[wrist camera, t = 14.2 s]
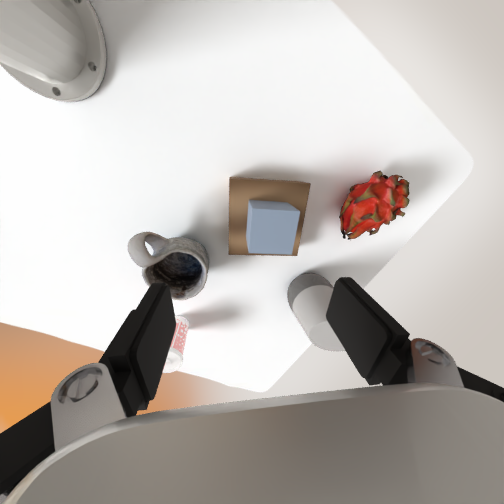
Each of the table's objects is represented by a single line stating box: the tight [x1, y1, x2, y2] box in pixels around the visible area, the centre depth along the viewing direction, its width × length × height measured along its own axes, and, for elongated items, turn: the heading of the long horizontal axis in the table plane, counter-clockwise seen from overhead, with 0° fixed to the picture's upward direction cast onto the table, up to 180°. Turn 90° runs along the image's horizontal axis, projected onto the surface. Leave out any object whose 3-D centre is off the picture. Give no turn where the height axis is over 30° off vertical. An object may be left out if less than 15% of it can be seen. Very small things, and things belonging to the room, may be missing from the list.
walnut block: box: [229, 177, 310, 256], centre depth 31 cm, size 12×12×4 cm
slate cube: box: [246, 200, 300, 255], centre depth 27 cm, size 6×6×6 cm
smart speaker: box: [287, 273, 345, 351], centre depth 34 cm, size 10×9×14 cm
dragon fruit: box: [339, 171, 409, 239], centre depth 30 cm, size 8×8×12 cm
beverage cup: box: [162, 316, 189, 373], centre depth 35 cm, size 6×6×14 cm
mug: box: [128, 232, 209, 300], centre depth 29 cm, size 10×12×10 cm
